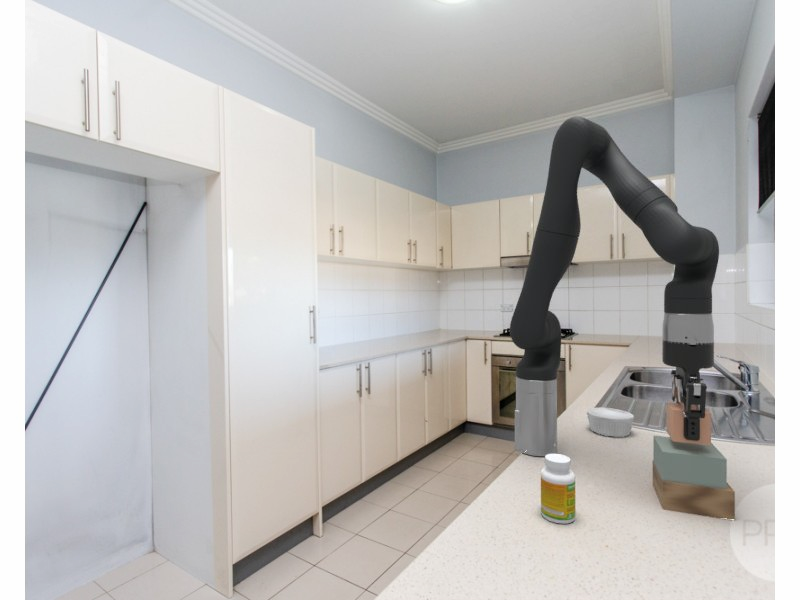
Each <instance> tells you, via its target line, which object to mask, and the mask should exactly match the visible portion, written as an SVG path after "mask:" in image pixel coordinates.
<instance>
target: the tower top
mask: <svg viewBox="0 0 800 600" xmlns="http://www.w3.org/2000/svg"><path fill="white" fill-rule="evenodd" d="M718 449H719V448H717V447H716V446H715V445H714V443H712V442H711V446H710V445H701V444H693V443H684V442H675V441H672V439H671V438H670V436H663V435H662V436H661V435H653V451H652V452H653V458H652V459H653V460H652V463H653V462H654V464H655V466H656V468H657V470H658V472H659V474H660V476H661V478H662V481H668V482H675V483H682V484H689V485H696V486H704V487H711V488H718V489H725V490H727V483H728V482H727V481H728V480H727V476H728V475H727V469H728V468H727V467H728V465H727V460H728V459H727V458H726V457H725V456H724V455H723V454H722V453H721V451H720V450H718Z"/></svg>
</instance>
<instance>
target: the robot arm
mask: <svg viewBox="0 0 800 600" xmlns="http://www.w3.org/2000/svg"><path fill="white" fill-rule="evenodd" d="M549 159H550V160H549V164H548V165H549V166H548V171H547V172H548V173H547V174H548V175H547V180H546V186H545V192H544V195H543V199H542V205H541V208H540V209H541V210H540V214H539V218H538V221H537V225H536V230H535V233H534V238H533V242H532V247H531V252H530V257H529V260H528V264H527V268H526V271H525V272H526V273H525V275H524V276H525V277H524V280H523V285H522V288H521V291H520V293H519V297H518V300H517V303H516V306H515V309H514V311H513V314H512V316H511V320H510V323H509V324H510V325H509V335H510V339H511V341H512V342H513V344H514V345H515V346H516V347H517V348H519V349H521V350H524V354H523V356H522V358H521V359H520V361H518V363H517V364H516V366H515V367H516V368H515V409H514V451H515V452H520V453H521V454H524V455H529V456H536V457H545V456H546V455H547V454H558V414H557V413H558V391H557V390H558V389H557V388H558V386H557V385H558V381H557V380H558V370H559V368H560V365H561V358H562V356H561V352H562V350H561V349H562V327H561V326H562V325H561V323H560V320H559V318H558V317H557V315H556V314H555V313H553V312H552V311H550V310H549V309H550V305H551V301H552V297H553V294H554V292H555V291H556V288H557V286H558V285H559V284H560V282H561V280H562V278H563V277H564V275H565V274H566V272H567V270H568V269H569V267H570V265H571V263H572V261H573V259H574V257H575V254H576V250H577V246H578V242H579V237H580V234H581V227H582V226H581V214H580V206H579V199H578V184H579V180H580V176H581V172H582V169H584V170H585V171H588V172H589V173H590V174H591V175H594V176H595V177H596V178H597V179H598V180H599V181H601V183H603V184H604V185H605V187H606V188H607V189H608V191H609V192H610V194H611V197H612V198H613V200H614V202H615V203H616V205H617V206H618V208H620V210H621V211H622V212H623V213H624V215H626V216H627V218H628V219H630V221H631V222H632V223H634V225H636V226H637V227H638V228H639V229H640V231H642V234H643V236H644V237H645V239H646V241H647V242H648V244H649V246H650V247H651V248H652V250H653V251H654V252H655V253H656V254H657V255H658V256H659V257H660V258H661V260H663V261H665V262H666V263H668V264H670V265H673V266H674V272H673V278H672V280H671V281H669V282H667V283H666V285H665V287H664V294H663V308H664V309H663V312H664V313H663V320H662V321H663V322H662V353H661V354H662V357H661V358H662V364H664V365H666V366H669V367H673V368H675V369H672V370H671V372H670V374H671V393H672V397H671V400H672V403H680V404H682V407H683V416H684V438H685V439H686V440H693V441H698V440H699V439H700V419H702V418H705V408H706V401H707V400H706V399H707V390H708V386H707V384H706V383H705V382H704V378H703V377H702V378H701V373H700V370H702V369H712V368H713V367H714V364H715V326H714V319H713V291H712V290H713V284H714V283H715V282H714V281H715V279H716V278H715V277H716V275H717V273H716V272H717V270H718V266H719V265H718V264H719V257H720V245H719V240H718V238H717V236H716V235H715V233H714V232H712V231H711V230H710V229H708V228H706V227H702V226H696V225H692V224H691V223H689V222H688V221H687V220H686V219H685V218H684V217H682V215H681V214H680V213H679V210H678V209H679V208H678V206H677V204H676V203H675V202H674V200H673V199H672V198H670V196H668V195H667V194H666V193H665V192H664V191H663V190H662V189H661V188H660V187H658V186H657V185H656V184H655V183H654V182H653V181H652V180H650V179H649V178H648V177H647V176H646V175H644V174H643V173H642V172H641V171H640V170H639V169H638V168H637V167H635V165H633V164H632V162H630V160H629V159H628V158H627V156H626V155H625V154H624V153H623V152H622V151H621V149H620V147H619V146H618V145H617V143H616V142H615V140H614V139H613V137H612V136H611V134H610V133H609V132H608V130H607V129H606V128H605V127H603V126H602V125H600V124H598V123H596V122H594V121H592V120H590V119H588V118H585V117H582V116H577V115H576V116H571V117H569V118H568V119H566V120H564V122H563V123H562V124H560V126H559V127H558V129H557V131H556V132H555V135H554V138H553V141H552V145H551V151H550V158H549ZM691 405H695V406H696V410H691ZM526 450H527V451H526ZM525 451H526V452H525ZM524 452H525V453H524Z"/></svg>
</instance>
